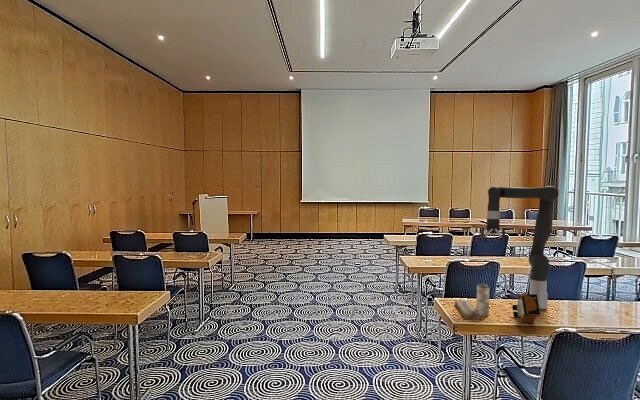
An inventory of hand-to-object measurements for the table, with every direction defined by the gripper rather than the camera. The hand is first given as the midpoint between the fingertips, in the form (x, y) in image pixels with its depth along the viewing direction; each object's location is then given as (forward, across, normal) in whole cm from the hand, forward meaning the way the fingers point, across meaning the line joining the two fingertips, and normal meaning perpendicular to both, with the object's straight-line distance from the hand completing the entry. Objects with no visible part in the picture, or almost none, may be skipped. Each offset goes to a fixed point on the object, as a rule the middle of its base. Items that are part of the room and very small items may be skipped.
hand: (492, 243), depth 273 cm
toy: (+38, +8, -38) cm, 55 cm away
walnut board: (+38, -20, -24) cm, 49 cm away
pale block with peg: (+38, -12, -28) cm, 49 cm away
